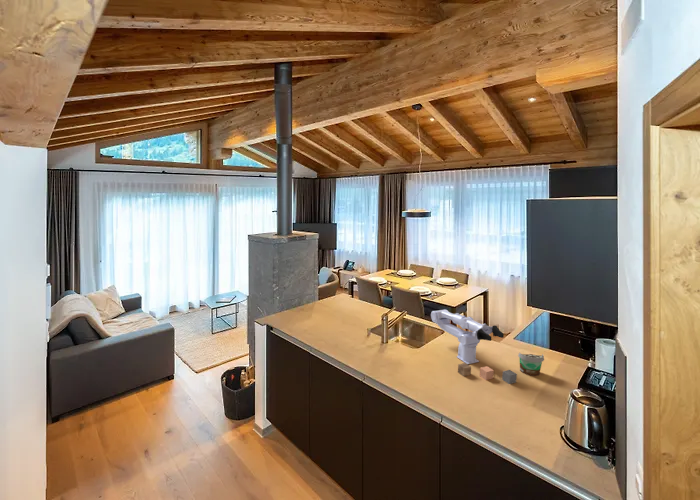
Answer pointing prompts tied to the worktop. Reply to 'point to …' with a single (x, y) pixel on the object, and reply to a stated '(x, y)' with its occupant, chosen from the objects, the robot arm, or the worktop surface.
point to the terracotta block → (486, 373)
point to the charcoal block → (509, 376)
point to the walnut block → (464, 369)
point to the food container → (530, 364)
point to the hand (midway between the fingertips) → (497, 337)
